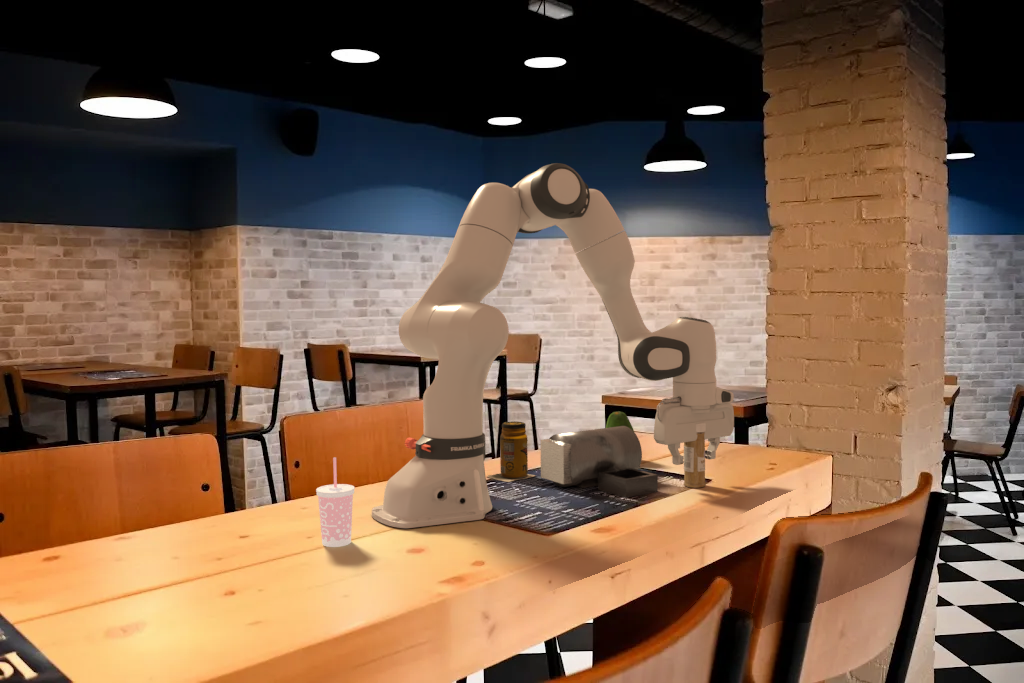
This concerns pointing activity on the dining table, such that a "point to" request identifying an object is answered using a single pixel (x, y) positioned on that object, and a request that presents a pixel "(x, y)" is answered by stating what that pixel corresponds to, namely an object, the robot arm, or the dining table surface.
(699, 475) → the sprinkles bottle
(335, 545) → the beverage cup
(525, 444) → the condiment
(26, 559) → the dining table surface
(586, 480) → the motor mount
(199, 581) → the dining table surface
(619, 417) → the avocado
